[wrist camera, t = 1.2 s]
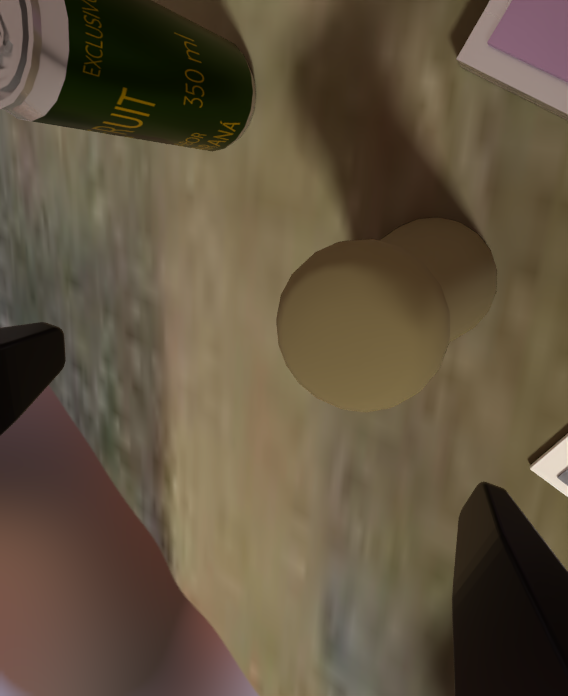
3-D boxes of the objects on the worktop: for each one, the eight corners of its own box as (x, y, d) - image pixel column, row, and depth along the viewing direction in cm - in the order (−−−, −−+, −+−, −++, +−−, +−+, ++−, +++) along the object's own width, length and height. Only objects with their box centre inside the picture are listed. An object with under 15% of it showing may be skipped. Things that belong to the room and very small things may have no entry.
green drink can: (172, 70, 25) (-77, -21, 15) (245, 20, 22) (-5, -135, 12) (198, 166, 26) (-20, 141, 16) (272, 130, 23) (60, 71, 13)
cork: (398, 197, 20) (280, 190, 11) (526, 249, 18) (506, 291, 9) (350, 308, 23) (224, 374, 14) (456, 364, 21) (388, 483, 12)
